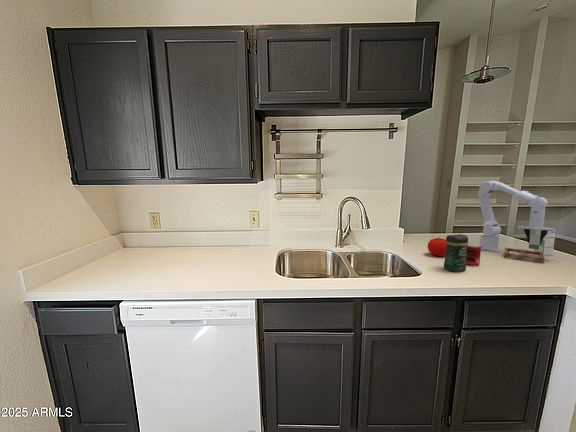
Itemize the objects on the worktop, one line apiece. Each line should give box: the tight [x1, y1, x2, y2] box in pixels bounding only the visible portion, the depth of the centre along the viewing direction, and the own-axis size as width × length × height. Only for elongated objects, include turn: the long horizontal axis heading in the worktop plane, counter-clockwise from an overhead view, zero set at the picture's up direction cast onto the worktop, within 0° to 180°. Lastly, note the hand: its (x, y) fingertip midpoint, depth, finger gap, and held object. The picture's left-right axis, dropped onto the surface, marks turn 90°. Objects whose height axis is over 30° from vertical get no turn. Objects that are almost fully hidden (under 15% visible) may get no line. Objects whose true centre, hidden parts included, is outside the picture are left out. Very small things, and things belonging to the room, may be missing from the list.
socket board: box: [503, 247, 545, 264], centre depth 141 cm, size 16×14×3 cm
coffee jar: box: [443, 233, 469, 273], centre depth 126 cm, size 10×8×19 cm
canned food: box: [466, 242, 482, 267], centre depth 134 cm, size 8×8×11 cm
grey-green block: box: [528, 232, 540, 250], centre depth 139 cm, size 4×4×8 cm
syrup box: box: [534, 231, 556, 256], centre depth 145 cm, size 6×6×14 cm
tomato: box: [427, 236, 446, 257], centre depth 150 cm, size 12×12×11 cm
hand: (534, 243), depth 139 cm, fingers closed on grey-green block, 4 cm apart
